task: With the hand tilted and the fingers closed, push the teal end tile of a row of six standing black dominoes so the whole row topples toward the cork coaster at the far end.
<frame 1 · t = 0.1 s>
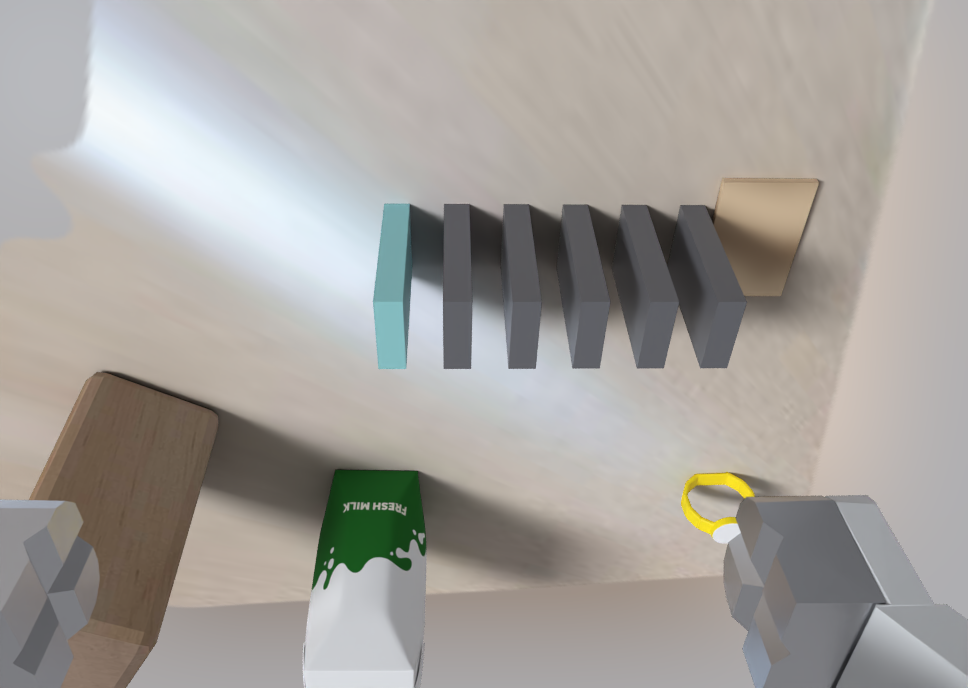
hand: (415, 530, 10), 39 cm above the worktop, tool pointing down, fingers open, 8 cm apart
domino 2: (456, 236, 54), on the worktop
domino 1: (398, 236, 54), on the worktop
coaster: (752, 238, 55), on the worktop
watch: (710, 475, 71), on the worktop
domino 3: (514, 237, 54), on the worktop
block: (143, 424, 65), on the worktop
domino 5: (628, 237, 54), on the worktop
domino 6: (685, 237, 54), on the worktop
milk carton: (377, 493, 72), on the worktop
domino 4: (571, 237, 54), on the worktop
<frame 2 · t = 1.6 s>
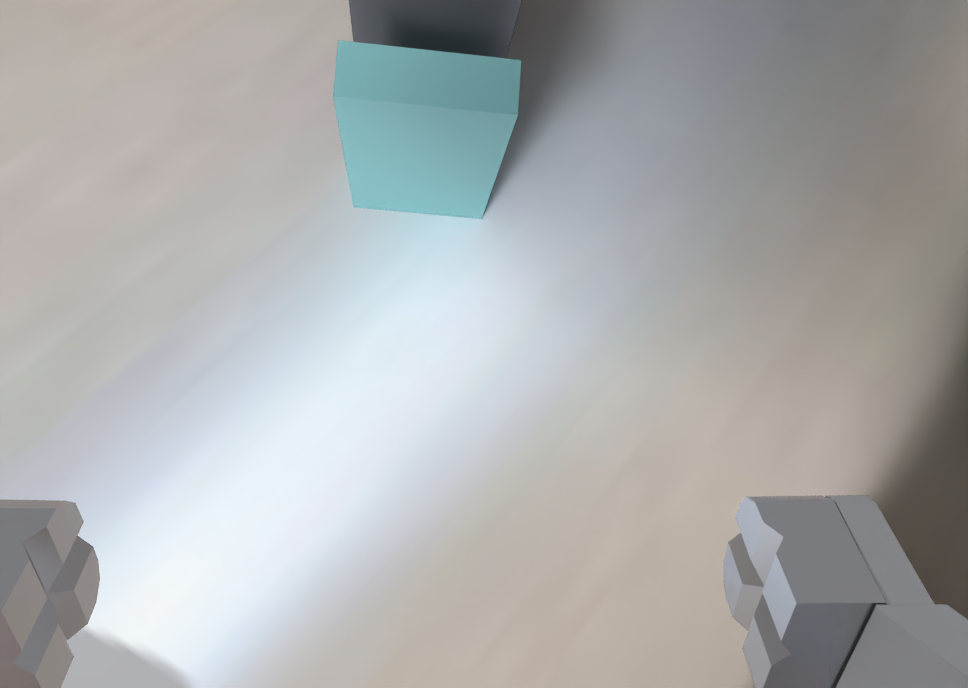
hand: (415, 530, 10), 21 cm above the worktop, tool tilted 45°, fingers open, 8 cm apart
domino 2: (426, 101, 33), on the worktop
domino 1: (419, 193, 32), on the worktop
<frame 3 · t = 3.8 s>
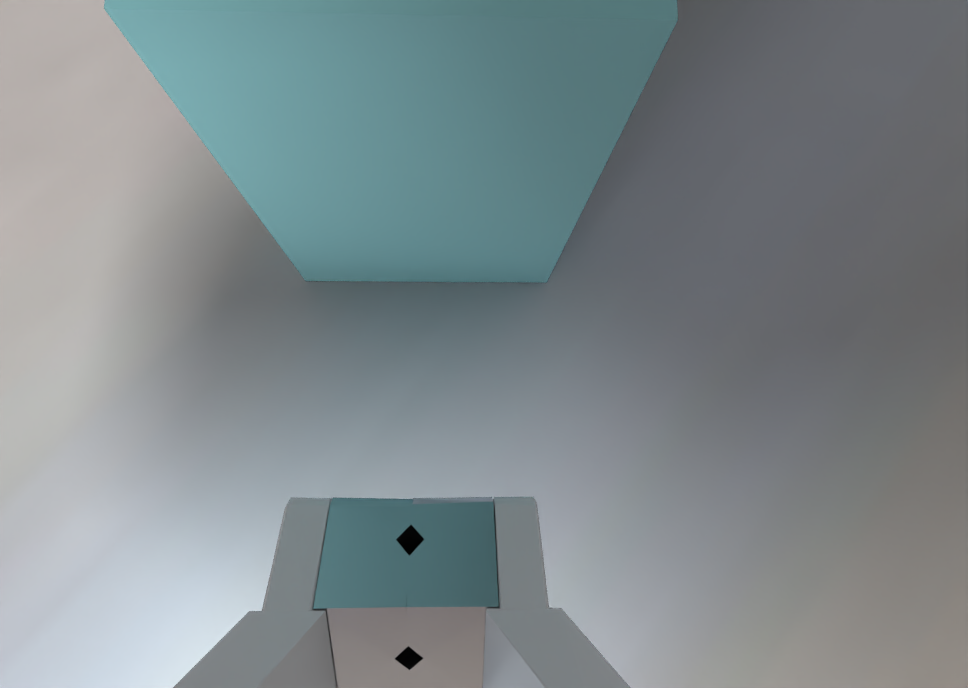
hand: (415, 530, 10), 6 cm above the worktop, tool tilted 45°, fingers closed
domino 1: (427, 244, 17), on the worktop
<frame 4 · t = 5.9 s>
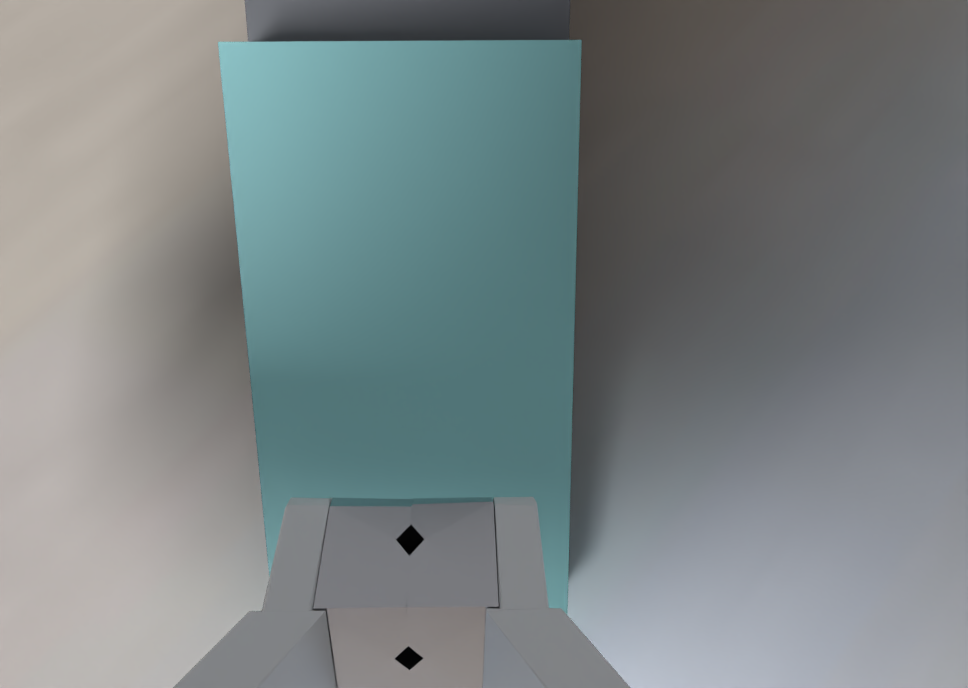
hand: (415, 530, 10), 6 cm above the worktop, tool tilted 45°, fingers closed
domino 2: (421, 410, 16), point 1 cm above the worktop, tilted 63°, touching domino 3
domino 1: (424, 626, 15), point 1 cm above the worktop, tilted 64°
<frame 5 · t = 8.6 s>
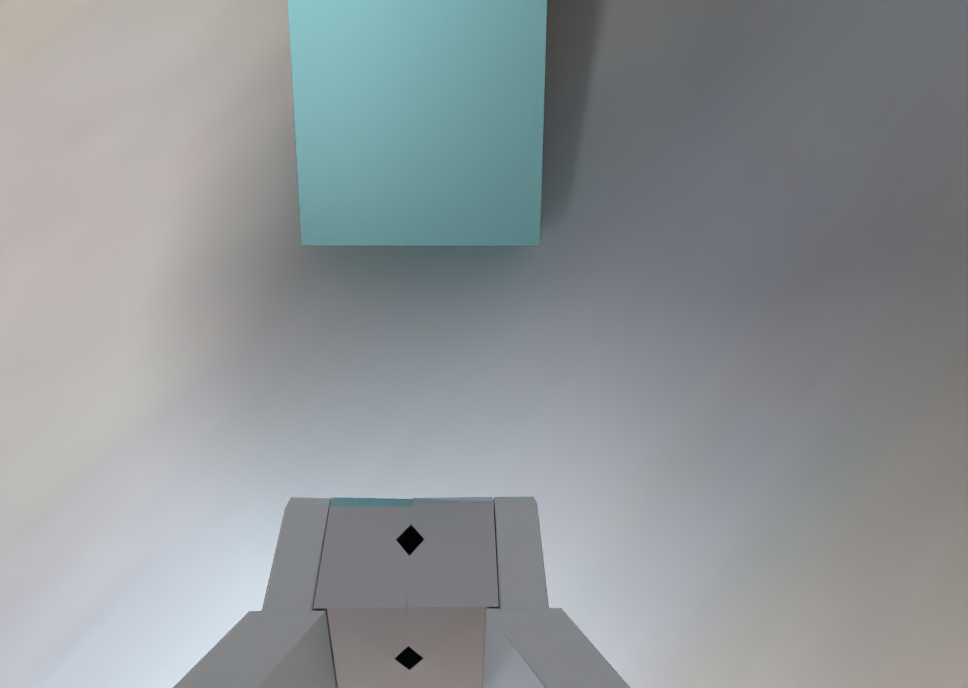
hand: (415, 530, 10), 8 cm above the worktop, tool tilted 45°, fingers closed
domino 1: (422, 239, 18), point 1 cm above the worktop, tilted 64°, touching domino 2
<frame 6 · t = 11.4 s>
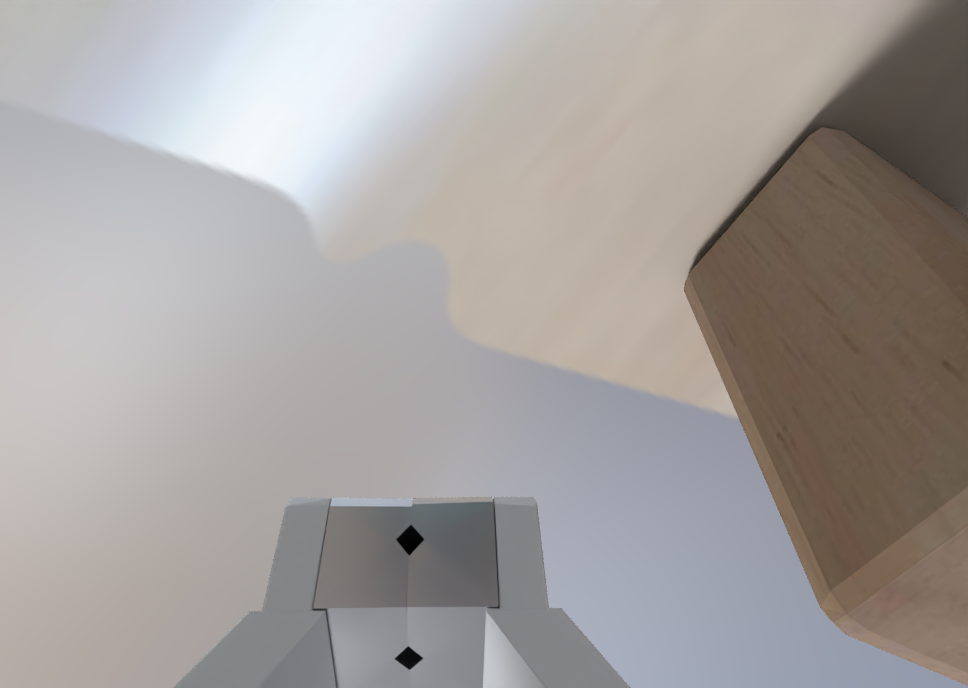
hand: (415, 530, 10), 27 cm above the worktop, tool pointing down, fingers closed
block: (816, 248, 40), on the worktop
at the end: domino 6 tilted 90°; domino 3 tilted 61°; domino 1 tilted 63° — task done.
